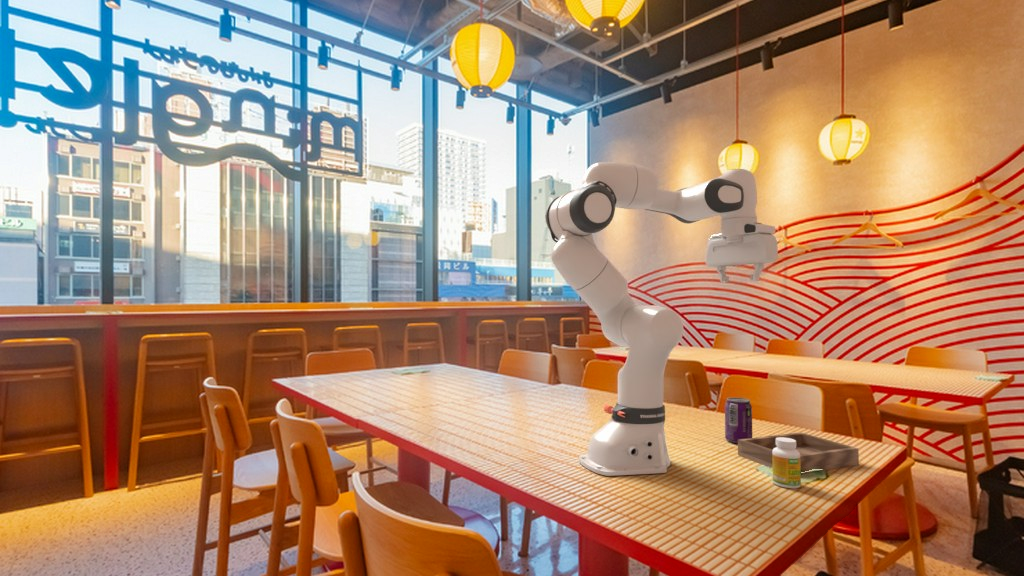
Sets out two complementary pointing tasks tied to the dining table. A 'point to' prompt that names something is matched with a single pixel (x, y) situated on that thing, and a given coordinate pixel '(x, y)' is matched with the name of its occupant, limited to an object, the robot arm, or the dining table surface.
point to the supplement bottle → (786, 463)
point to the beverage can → (738, 419)
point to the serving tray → (801, 451)
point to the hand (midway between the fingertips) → (739, 282)
